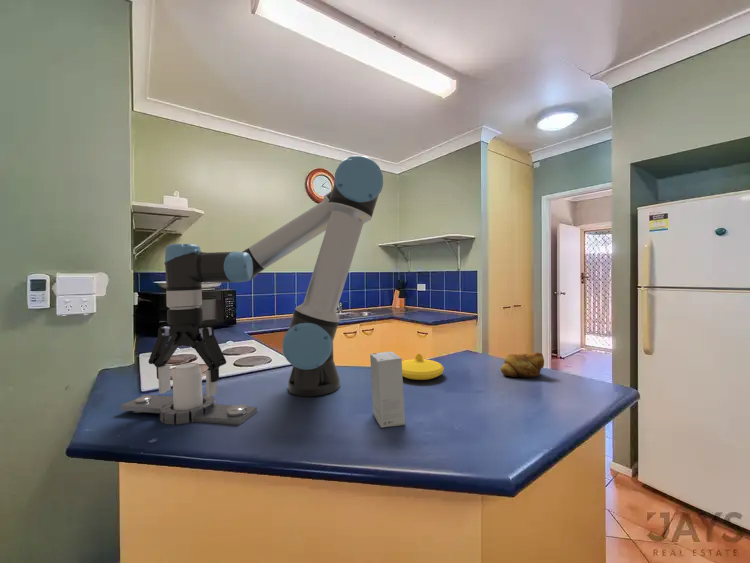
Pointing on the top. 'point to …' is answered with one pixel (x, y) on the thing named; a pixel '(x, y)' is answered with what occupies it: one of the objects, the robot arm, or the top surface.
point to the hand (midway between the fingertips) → (188, 393)
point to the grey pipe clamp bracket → (190, 410)
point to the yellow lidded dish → (421, 368)
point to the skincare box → (387, 389)
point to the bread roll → (523, 365)
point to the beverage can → (187, 386)
